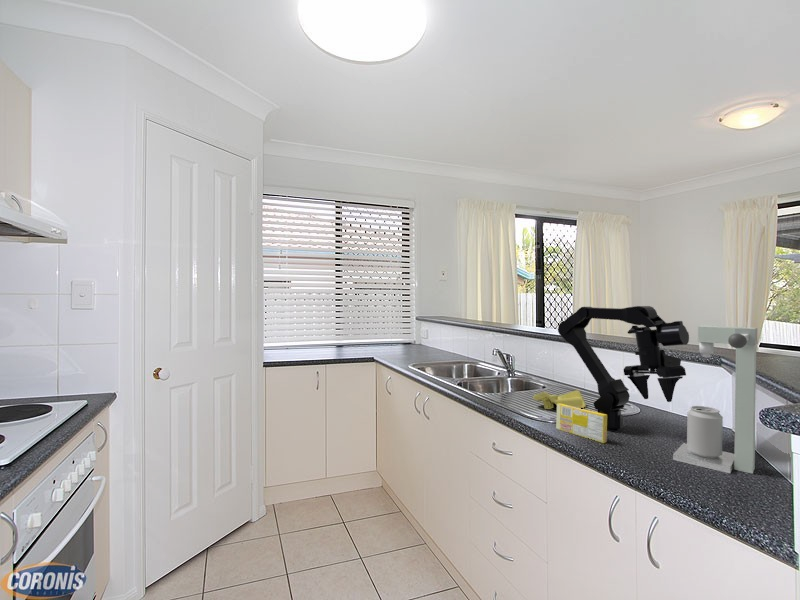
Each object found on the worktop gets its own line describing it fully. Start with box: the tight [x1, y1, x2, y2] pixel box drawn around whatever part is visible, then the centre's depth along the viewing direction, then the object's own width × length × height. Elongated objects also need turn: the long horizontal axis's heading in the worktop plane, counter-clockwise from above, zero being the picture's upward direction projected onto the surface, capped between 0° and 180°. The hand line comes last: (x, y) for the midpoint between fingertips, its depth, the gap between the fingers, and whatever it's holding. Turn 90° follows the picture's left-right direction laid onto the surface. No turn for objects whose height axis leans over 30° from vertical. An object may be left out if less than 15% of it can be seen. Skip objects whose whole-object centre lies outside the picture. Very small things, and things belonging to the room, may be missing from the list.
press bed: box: [672, 442, 734, 474], centre depth 109 cm, size 12×12×2 cm
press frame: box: [697, 325, 758, 475], centre depth 101 cm, size 11×21×35 cm, turn 135°
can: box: [686, 405, 724, 458], centre depth 110 cm, size 8×8×12 cm
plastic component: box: [532, 390, 587, 410], centre depth 161 cm, size 20×7×10 cm
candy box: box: [555, 403, 608, 444], centre depth 129 cm, size 16×2×8 cm, turn 33°
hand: (657, 400), depth 123 cm, fingers open, 9 cm apart
